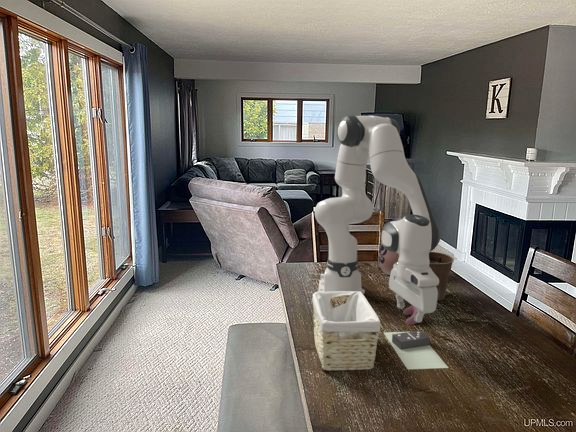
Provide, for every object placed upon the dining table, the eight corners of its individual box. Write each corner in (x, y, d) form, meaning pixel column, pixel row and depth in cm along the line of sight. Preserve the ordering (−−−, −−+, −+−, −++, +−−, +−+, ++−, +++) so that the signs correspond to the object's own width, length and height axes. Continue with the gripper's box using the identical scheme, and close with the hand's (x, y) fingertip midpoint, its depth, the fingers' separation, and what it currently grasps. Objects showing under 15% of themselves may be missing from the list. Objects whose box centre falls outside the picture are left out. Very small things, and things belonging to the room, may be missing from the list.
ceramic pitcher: (374, 267, 207) (376, 216, 202) (418, 268, 207) (422, 217, 202) (380, 280, 190) (383, 224, 185) (429, 281, 189) (433, 224, 185)
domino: (420, 337, 136) (391, 341, 133) (420, 330, 135) (392, 334, 132) (429, 345, 131) (400, 349, 128) (430, 337, 131) (401, 341, 128)
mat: (383, 333, 139) (383, 332, 139) (418, 332, 140) (418, 331, 140) (407, 371, 118) (407, 369, 118) (448, 369, 119) (448, 367, 119)
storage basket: (310, 333, 139) (311, 290, 136) (360, 333, 140) (362, 289, 137) (319, 374, 116) (321, 323, 113) (380, 373, 117) (382, 322, 114)
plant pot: (451, 306, 162) (454, 265, 159) (406, 300, 167) (408, 260, 164) (450, 291, 177) (453, 253, 174) (408, 286, 182) (411, 249, 179)
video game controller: (416, 331, 145) (427, 314, 143) (404, 324, 145) (415, 307, 144) (413, 318, 155) (423, 303, 153) (401, 312, 155) (412, 296, 153)
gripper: (385, 260, 136) (382, 301, 139) (423, 283, 117) (418, 331, 120) (403, 259, 138) (400, 300, 141) (443, 281, 119) (438, 328, 122)
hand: (409, 314), depth 130 cm, fingers open, 8 cm apart
